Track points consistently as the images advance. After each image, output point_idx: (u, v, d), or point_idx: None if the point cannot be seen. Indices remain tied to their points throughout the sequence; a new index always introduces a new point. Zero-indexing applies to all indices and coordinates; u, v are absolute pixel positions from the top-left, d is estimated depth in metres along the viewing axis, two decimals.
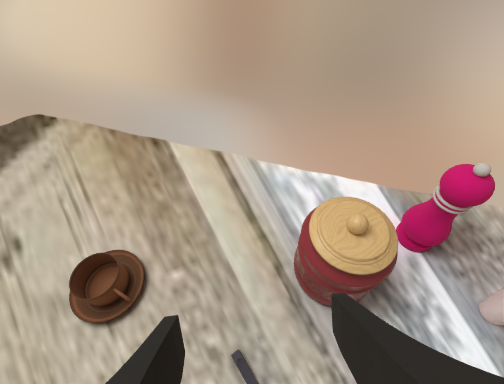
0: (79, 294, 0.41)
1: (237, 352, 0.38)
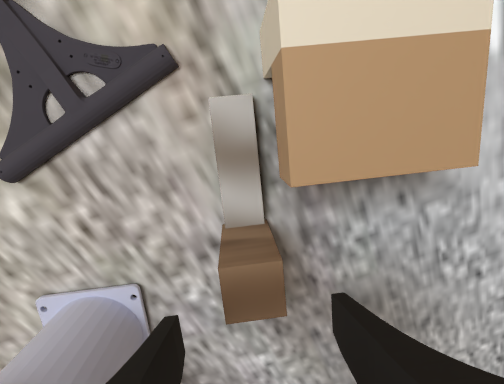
0: None
1: None
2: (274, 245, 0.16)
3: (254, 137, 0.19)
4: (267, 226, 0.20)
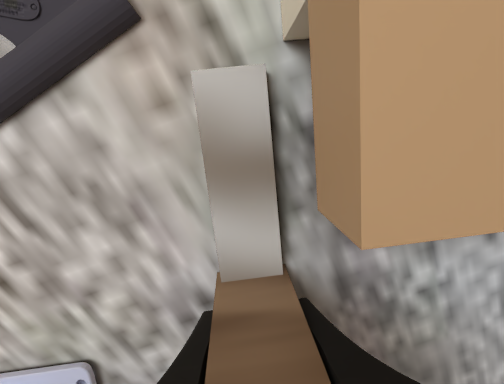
0: None
1: None
2: (310, 338, 0.09)
3: (269, 138, 0.11)
4: (288, 281, 0.12)
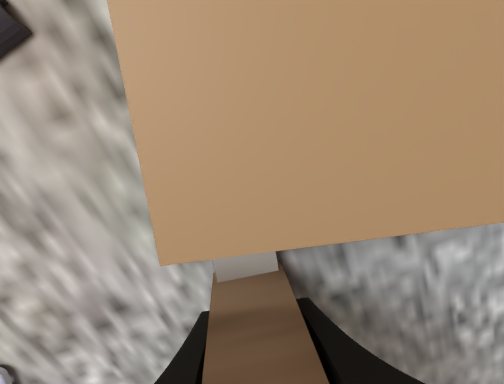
0: None
1: None
2: (305, 332, 0.09)
3: None
4: (284, 276, 0.12)
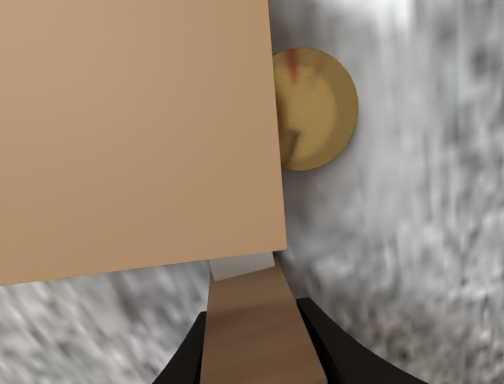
0: None
1: None
2: (302, 326, 0.09)
3: None
4: (280, 272, 0.12)
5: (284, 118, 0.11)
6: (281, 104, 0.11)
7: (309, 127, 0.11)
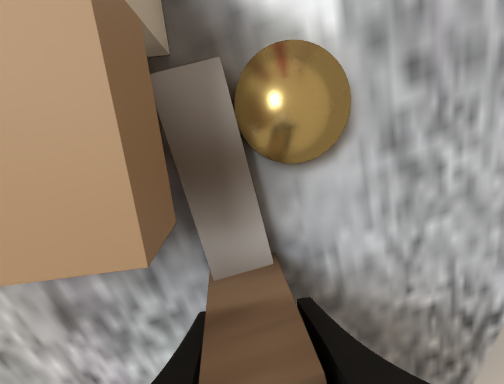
0: None
1: None
2: (300, 322, 0.09)
3: (236, 131, 0.11)
4: (279, 269, 0.12)
5: (276, 111, 0.11)
6: (273, 97, 0.11)
7: (302, 119, 0.11)
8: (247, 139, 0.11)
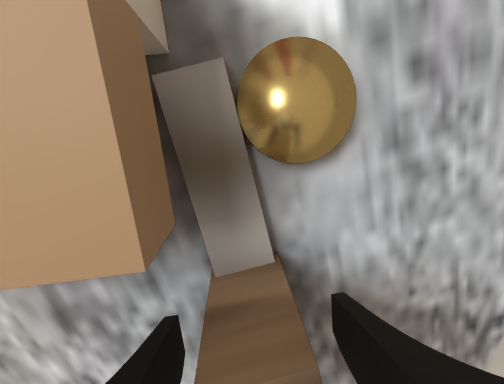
0: None
1: None
2: (297, 319, 0.09)
3: (239, 130, 0.11)
4: (280, 267, 0.12)
5: (280, 110, 0.11)
6: (277, 96, 0.11)
7: (307, 118, 0.11)
8: (251, 139, 0.11)
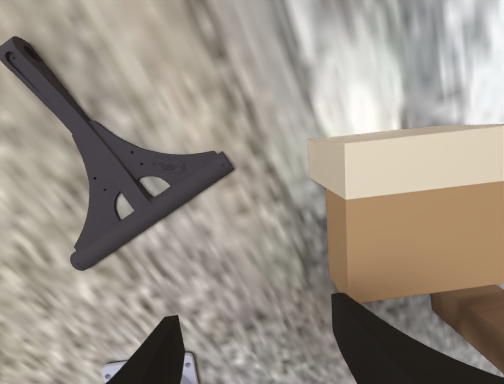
0: None
1: (8, 40, 0.16)
2: None
3: None
4: None
5: None
6: None
7: None
8: None
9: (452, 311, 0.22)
